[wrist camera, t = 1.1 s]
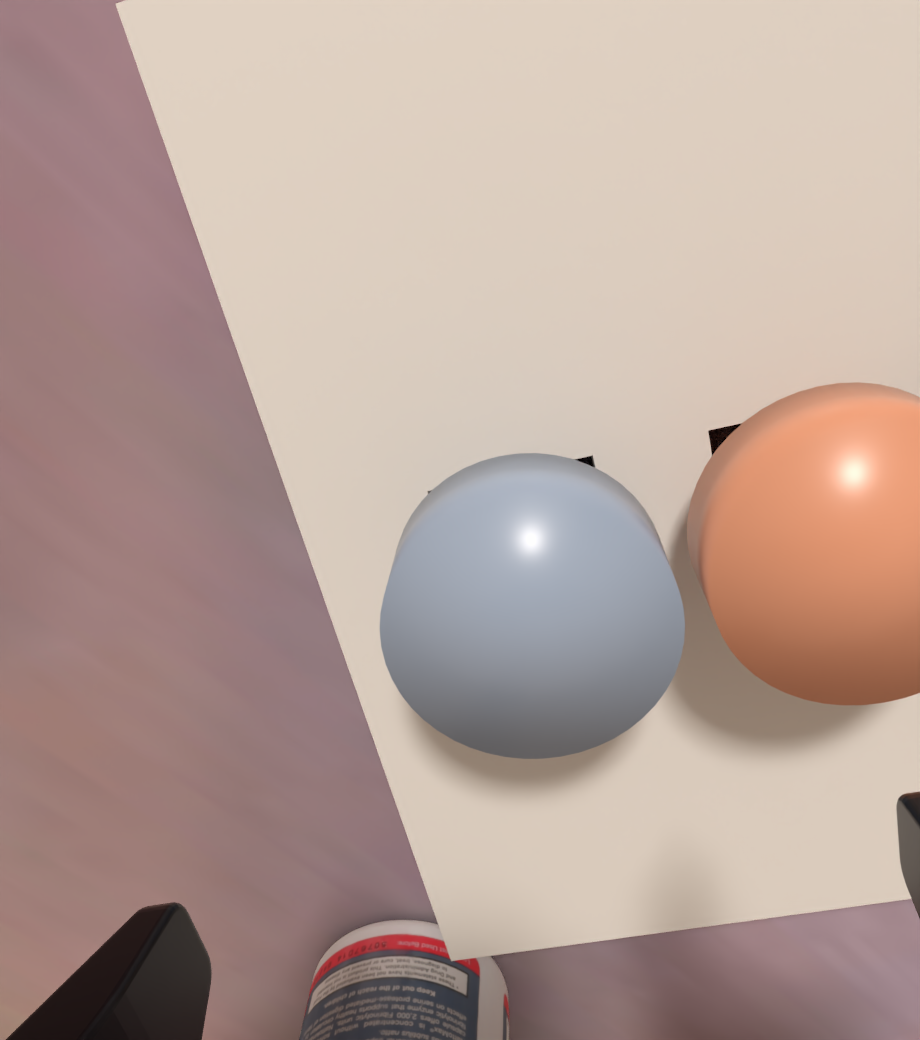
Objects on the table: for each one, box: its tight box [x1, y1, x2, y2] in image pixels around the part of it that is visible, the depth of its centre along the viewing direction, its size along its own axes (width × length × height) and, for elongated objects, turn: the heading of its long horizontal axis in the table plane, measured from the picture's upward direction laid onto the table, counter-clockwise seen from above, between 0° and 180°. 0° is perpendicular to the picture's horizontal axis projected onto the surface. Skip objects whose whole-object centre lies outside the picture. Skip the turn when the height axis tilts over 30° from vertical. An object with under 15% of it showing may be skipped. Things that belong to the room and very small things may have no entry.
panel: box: [116, 0, 920, 961], centre depth 16 cm, size 18×20×2 cm
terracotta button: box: [687, 382, 920, 705], centre depth 14 cm, size 5×5×4 cm
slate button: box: [380, 453, 685, 759], centre depth 15 cm, size 5×5×4 cm
